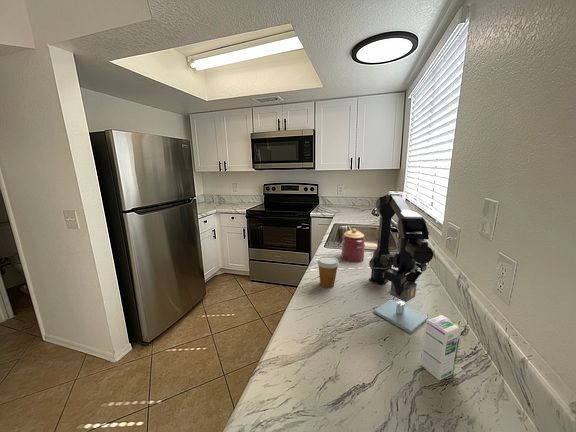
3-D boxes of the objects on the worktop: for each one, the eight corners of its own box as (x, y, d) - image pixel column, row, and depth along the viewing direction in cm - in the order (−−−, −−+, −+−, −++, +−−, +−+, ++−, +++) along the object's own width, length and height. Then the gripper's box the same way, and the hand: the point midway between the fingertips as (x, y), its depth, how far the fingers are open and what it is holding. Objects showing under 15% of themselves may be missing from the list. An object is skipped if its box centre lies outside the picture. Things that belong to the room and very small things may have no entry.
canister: (360, 264, 131) (363, 233, 127) (337, 259, 137) (339, 229, 133) (366, 256, 142) (368, 227, 138) (344, 252, 148) (346, 224, 144)
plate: (373, 312, 89) (373, 309, 89) (391, 301, 96) (391, 299, 96) (410, 333, 78) (411, 330, 78) (427, 319, 85) (428, 317, 85)
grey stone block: (395, 312, 87) (396, 303, 87) (398, 310, 89) (400, 300, 88) (400, 315, 86) (401, 305, 85) (403, 312, 87) (405, 303, 87)
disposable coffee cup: (339, 281, 112) (341, 257, 109) (334, 291, 103) (336, 266, 101) (320, 277, 116) (321, 254, 113) (313, 286, 107) (314, 262, 105)
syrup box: (439, 381, 61) (448, 333, 58) (419, 364, 67) (426, 318, 63) (454, 373, 64) (463, 326, 60) (433, 357, 69) (440, 313, 66)
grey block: (390, 294, 86) (391, 281, 85) (398, 289, 90) (400, 277, 89) (406, 302, 81) (408, 289, 80) (415, 296, 85) (417, 284, 84)
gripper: (399, 239, 93) (395, 276, 97) (371, 250, 83) (367, 291, 86) (430, 248, 85) (424, 287, 88) (402, 261, 74) (397, 305, 77)
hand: (402, 292), depth 85 cm, fingers closed on grey block, 6 cm apart
